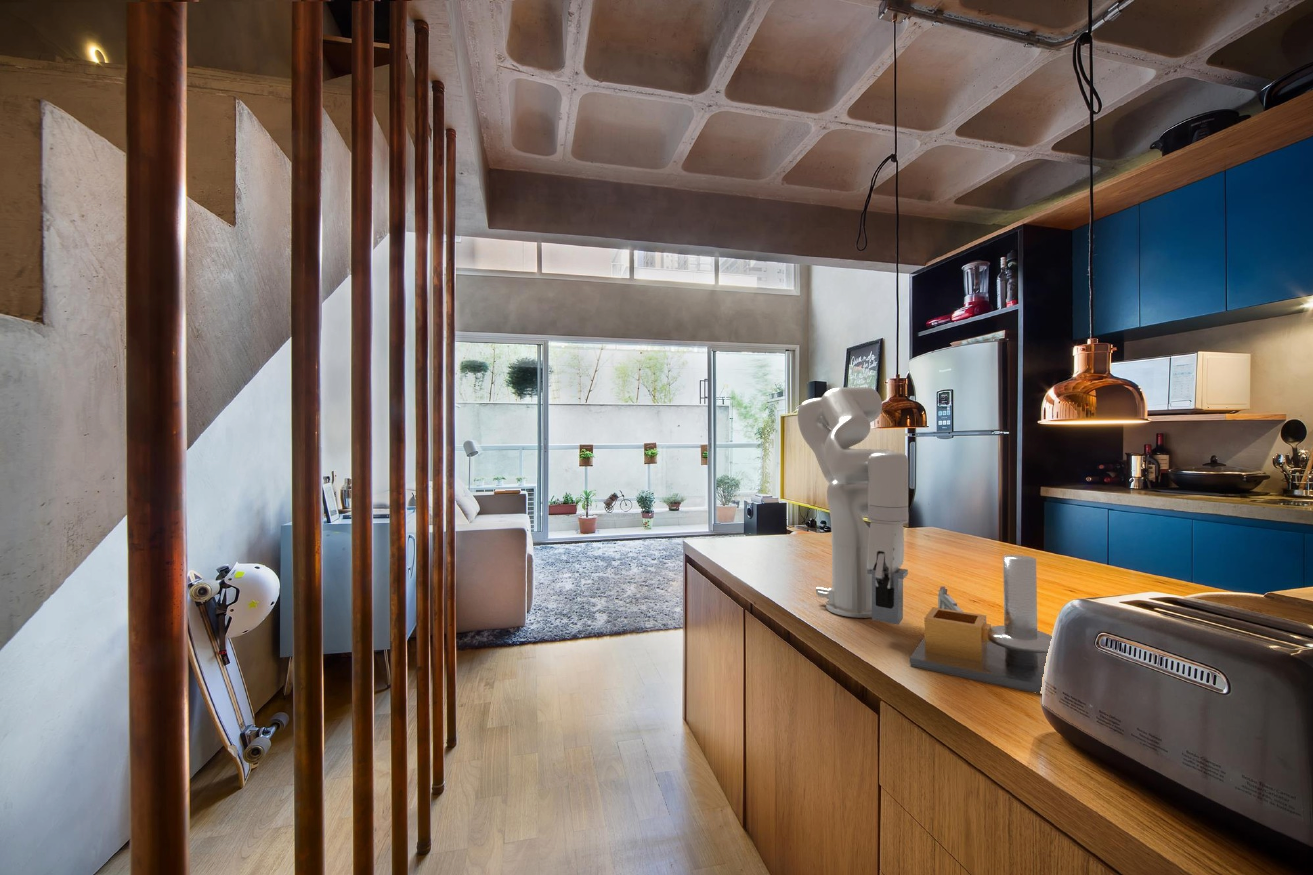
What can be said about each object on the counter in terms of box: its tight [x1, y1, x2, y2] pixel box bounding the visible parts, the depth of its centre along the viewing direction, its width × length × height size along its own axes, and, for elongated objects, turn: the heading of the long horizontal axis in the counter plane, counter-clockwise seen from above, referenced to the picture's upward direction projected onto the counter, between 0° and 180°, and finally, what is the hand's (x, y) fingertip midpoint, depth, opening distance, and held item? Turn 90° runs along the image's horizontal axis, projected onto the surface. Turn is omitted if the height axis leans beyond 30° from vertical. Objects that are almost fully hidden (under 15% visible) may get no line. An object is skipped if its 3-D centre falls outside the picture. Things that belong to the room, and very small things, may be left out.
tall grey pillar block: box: [867, 567, 909, 626], centre depth 111 cm, size 7×4×10 cm, turn 53°
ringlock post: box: [909, 554, 1053, 695], centre depth 98 cm, size 21×18×20 cm
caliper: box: [937, 585, 964, 612], centre depth 119 cm, size 20×1×6 cm, turn 176°
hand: (887, 602), depth 111 cm, fingers closed on tall grey pillar block, 4 cm apart
